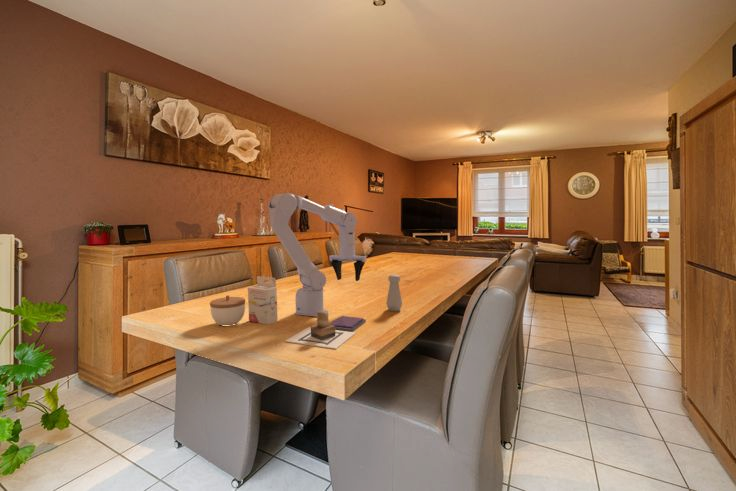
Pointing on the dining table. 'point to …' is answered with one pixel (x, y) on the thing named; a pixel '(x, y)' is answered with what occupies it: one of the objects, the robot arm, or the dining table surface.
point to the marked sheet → (332, 343)
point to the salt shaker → (394, 294)
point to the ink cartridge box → (263, 301)
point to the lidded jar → (228, 310)
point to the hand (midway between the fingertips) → (348, 279)
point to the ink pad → (348, 323)
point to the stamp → (322, 327)
